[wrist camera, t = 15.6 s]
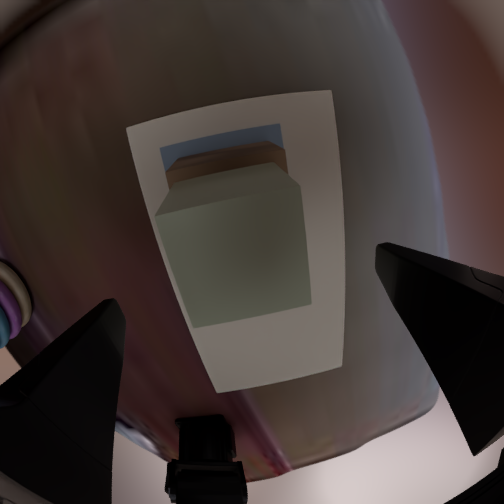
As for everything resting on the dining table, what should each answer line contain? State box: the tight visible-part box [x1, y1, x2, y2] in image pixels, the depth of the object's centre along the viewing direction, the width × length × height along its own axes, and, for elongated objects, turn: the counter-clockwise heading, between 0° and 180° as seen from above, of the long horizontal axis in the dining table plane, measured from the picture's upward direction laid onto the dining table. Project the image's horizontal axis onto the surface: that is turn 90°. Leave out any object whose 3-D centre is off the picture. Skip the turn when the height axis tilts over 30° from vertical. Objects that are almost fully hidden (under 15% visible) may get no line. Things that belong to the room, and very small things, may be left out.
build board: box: [126, 90, 345, 393], centre depth 23 cm, size 14×27×1 cm, turn 10°
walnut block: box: [165, 141, 288, 190], centre depth 17 cm, size 6×6×5 cm
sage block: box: [154, 162, 312, 328], centre depth 13 cm, size 5×5×5 cm
